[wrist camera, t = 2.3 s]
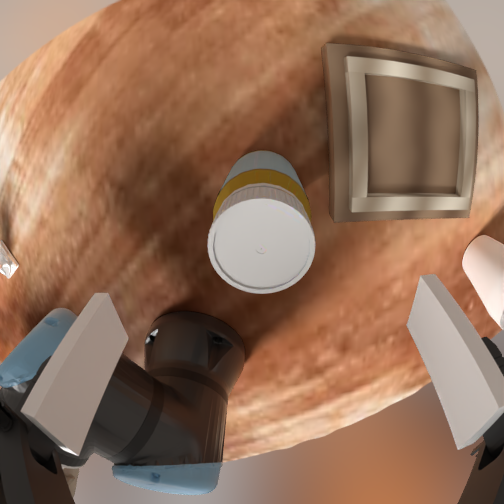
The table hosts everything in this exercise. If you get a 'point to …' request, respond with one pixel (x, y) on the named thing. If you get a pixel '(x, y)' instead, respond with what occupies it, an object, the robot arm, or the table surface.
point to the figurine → (7, 261)
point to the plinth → (399, 134)
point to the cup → (487, 274)
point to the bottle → (261, 225)
